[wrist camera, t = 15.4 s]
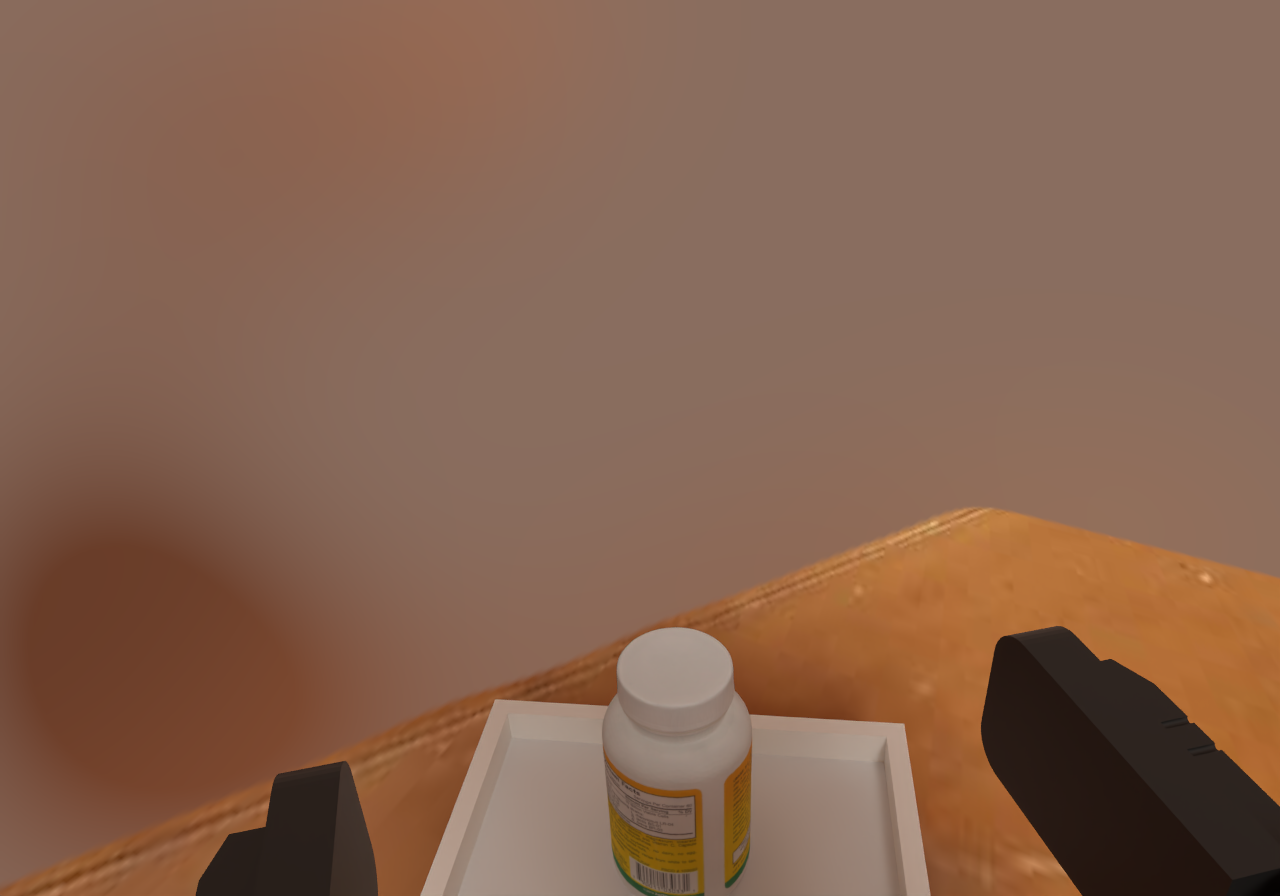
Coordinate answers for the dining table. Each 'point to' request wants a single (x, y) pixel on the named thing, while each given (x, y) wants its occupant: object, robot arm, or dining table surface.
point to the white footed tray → (780, 810)
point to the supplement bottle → (678, 767)
